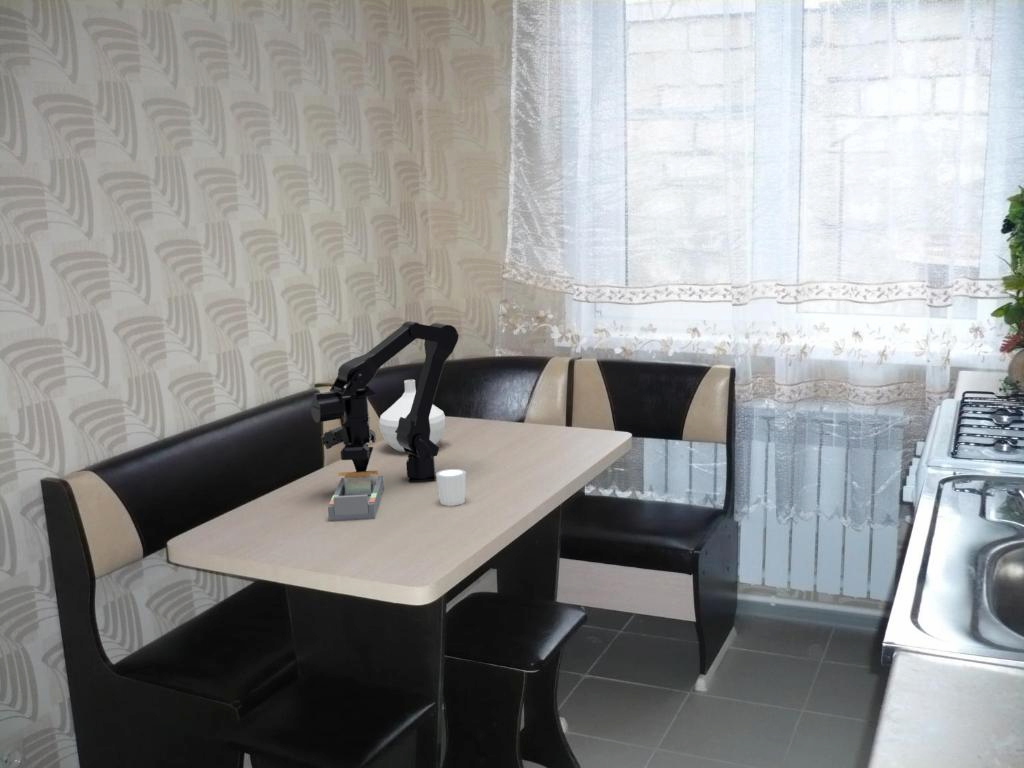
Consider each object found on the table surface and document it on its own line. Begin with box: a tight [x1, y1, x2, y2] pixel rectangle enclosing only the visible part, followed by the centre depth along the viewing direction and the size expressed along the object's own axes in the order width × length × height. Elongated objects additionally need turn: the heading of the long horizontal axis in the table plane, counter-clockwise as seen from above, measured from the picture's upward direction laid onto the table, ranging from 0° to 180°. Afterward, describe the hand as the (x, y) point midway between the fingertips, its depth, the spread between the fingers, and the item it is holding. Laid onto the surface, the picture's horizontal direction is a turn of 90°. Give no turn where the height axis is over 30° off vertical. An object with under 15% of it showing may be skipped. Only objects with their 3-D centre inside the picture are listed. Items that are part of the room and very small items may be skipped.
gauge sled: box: [337, 470, 379, 496], centre depth 248 cm, size 9×5×5 cm, turn 92°
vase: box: [378, 379, 446, 453], centre depth 292 cm, size 18×18×19 cm
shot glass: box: [436, 468, 467, 507], centre depth 242 cm, size 7×7×7 cm
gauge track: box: [327, 475, 385, 522], centre depth 244 cm, size 10×23×5 cm, turn 2°
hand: (361, 479), depth 254 cm, fingers closed
